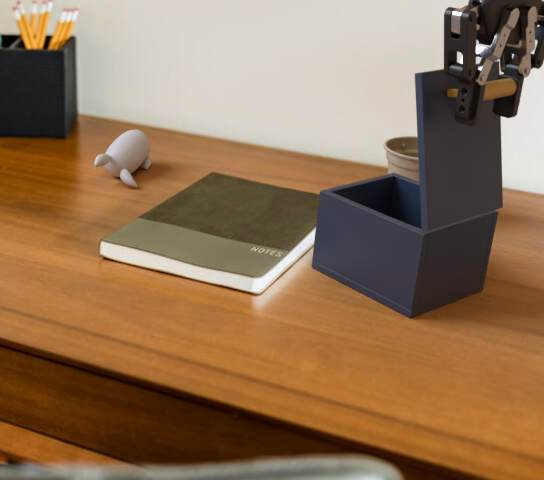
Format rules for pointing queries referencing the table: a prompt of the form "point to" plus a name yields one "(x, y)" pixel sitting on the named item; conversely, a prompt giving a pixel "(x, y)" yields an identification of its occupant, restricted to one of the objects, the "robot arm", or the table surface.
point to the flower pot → (403, 156)
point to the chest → (399, 246)
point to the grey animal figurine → (126, 156)
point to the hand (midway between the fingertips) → (485, 118)
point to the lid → (458, 150)
